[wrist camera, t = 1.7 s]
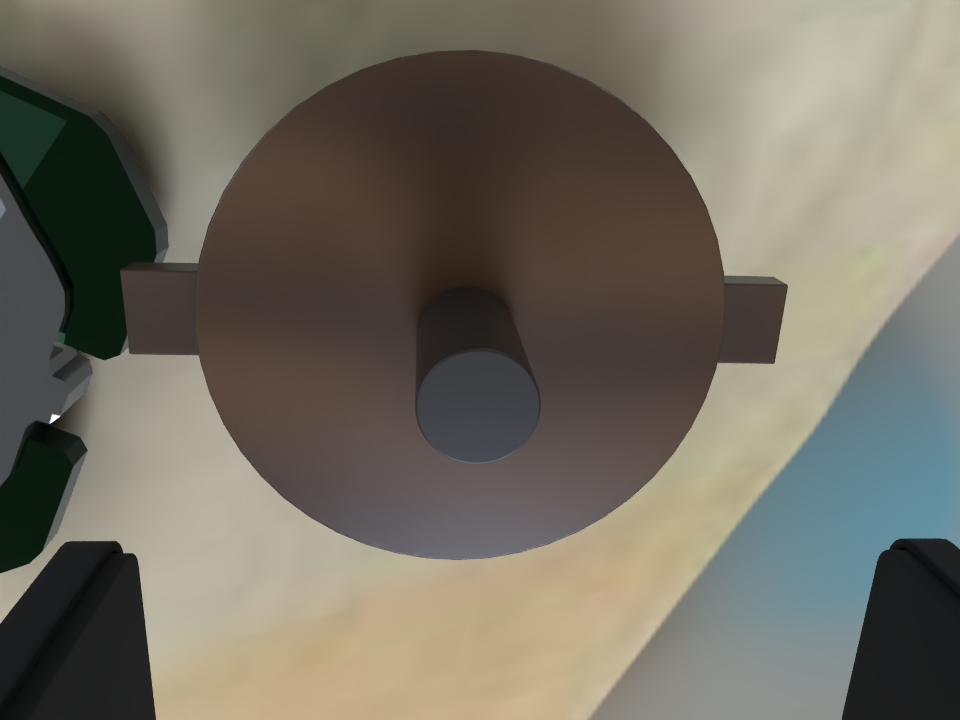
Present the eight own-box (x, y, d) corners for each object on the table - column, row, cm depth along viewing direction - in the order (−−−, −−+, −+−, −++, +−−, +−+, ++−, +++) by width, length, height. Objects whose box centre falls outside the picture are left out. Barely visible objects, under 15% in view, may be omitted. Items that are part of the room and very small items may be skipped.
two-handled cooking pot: (170, 59, 25) (83, 56, 19) (734, 84, 27) (836, 88, 20) (201, 433, 30) (140, 535, 23) (685, 436, 31) (756, 534, 25)
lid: (184, 38, 19) (82, 24, 14) (746, 63, 20) (874, 60, 15) (223, 539, 24) (160, 688, 18) (678, 537, 25) (755, 677, 19)
